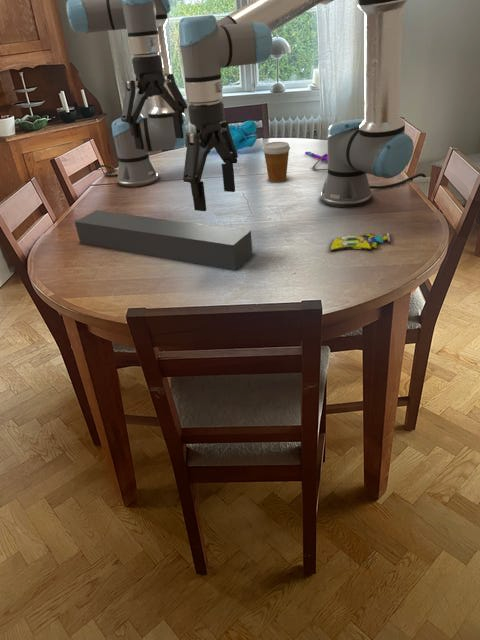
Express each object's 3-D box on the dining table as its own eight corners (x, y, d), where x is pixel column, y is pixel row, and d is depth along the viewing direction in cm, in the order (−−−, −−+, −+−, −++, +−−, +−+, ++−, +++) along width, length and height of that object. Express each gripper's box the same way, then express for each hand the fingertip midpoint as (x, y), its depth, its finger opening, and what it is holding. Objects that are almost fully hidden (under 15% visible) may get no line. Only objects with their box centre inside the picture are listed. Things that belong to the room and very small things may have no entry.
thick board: (80, 243, 137) (74, 221, 133) (101, 231, 143) (96, 210, 140) (235, 270, 115) (233, 245, 111) (252, 254, 121) (250, 230, 118)
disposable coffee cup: (260, 182, 170) (258, 147, 164) (269, 174, 177) (267, 141, 171) (286, 183, 167) (285, 148, 160) (294, 175, 174) (293, 141, 168)
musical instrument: (342, 175, 173) (362, 153, 185) (341, 169, 172) (361, 148, 184) (283, 174, 186) (305, 153, 198) (282, 169, 184) (305, 148, 196)
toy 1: (195, 134, 218) (257, 114, 208) (203, 157, 223) (264, 139, 213) (184, 143, 204) (250, 123, 194) (193, 168, 209) (257, 149, 199)
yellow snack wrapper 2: (393, 247, 116) (330, 248, 119) (393, 250, 117) (330, 251, 119) (388, 230, 125) (329, 232, 127) (387, 233, 125) (329, 235, 127)
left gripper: (112, 61, 111) (130, 155, 122) (193, 49, 125) (203, 134, 137) (95, 61, 116) (114, 152, 127) (175, 50, 130) (186, 132, 141)
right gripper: (188, 114, 90) (201, 221, 102) (248, 92, 108) (253, 185, 120) (156, 113, 94) (172, 217, 105) (219, 92, 112) (227, 183, 123)
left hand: (160, 143), depth 132 cm, fingers open, 13 cm apart
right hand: (215, 200), depth 113 cm, fingers open, 13 cm apart
